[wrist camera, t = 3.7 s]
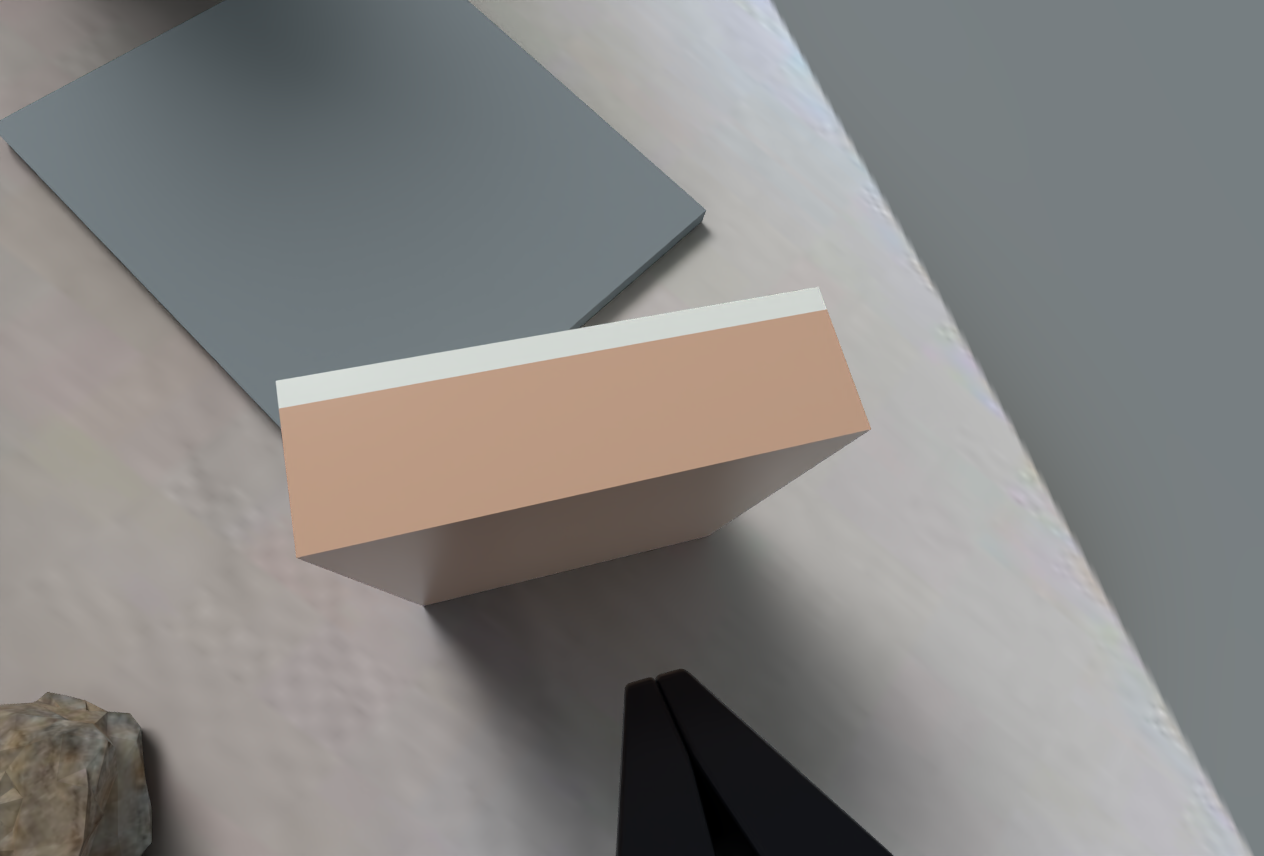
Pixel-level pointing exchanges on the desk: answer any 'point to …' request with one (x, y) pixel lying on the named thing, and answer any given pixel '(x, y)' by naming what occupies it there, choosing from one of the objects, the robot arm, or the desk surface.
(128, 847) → the flat rock
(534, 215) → the grey rubber mat
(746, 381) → the terracotta tile
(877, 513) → the desk surface
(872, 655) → the desk surface
